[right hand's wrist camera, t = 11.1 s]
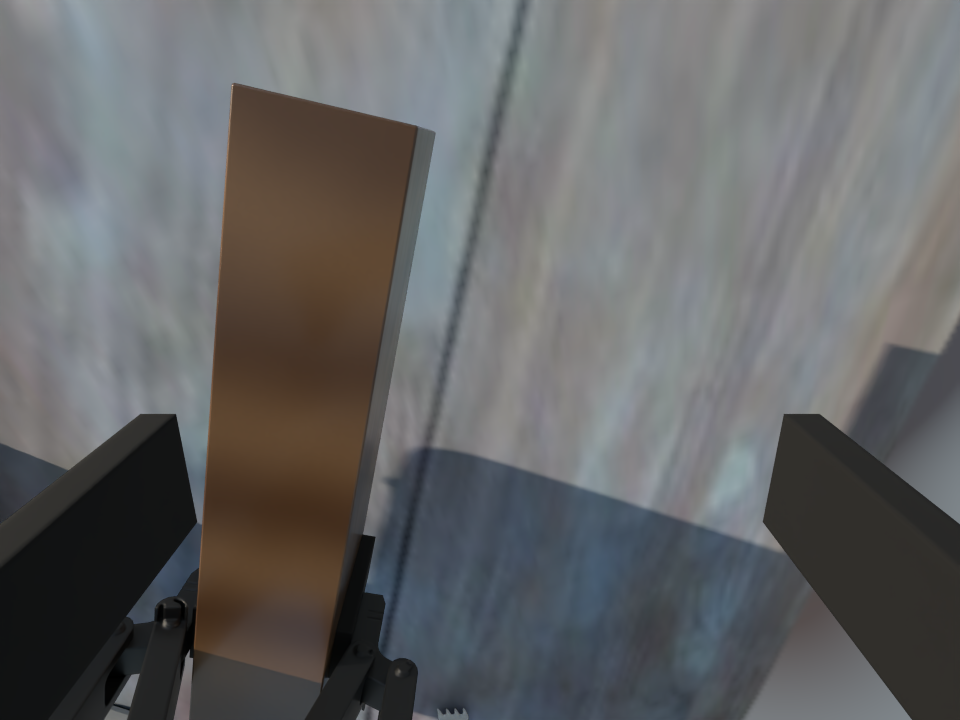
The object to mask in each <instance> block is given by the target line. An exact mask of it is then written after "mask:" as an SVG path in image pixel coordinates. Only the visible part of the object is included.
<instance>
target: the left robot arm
mask: <svg viewBox="0 0 960 720" xmlns="http://www.w3.org/2000/svg"><path fill="white" fill-rule="evenodd" d="M374 542H375V537H374V536H368V535H362V538H361V541H360V545H359V549H358V552H357V556H356V559H355V563H354V567H353V570H352V574H351V578H350V581H349V585H348V588H347V592H346V596H345V599H344V603H343V607H342V610H341V614H340V618H339V621H338V625H337V628H336V633H335V639H334V644H333V650H332V656H331V662H330V667H329V673H328V678H329V680H328V681H327V683H326V685H325V686H324V688H323V690H322V691H321V693H320V695H319V696H318V698H317V700H316V701H315V703H314V705H313V706H312V708H311V710H310V711H309V713H308V715H307V716H306V718H305V719H304V720H356V718H357V716H358V714H359V712H360V710H361V708H362V710H363V711H364V709H365V705H366V704H367V705H369V706H371V707H373V708H375V709H377V710H379V715H378V720H412V715H413V707H414V699H415V691H416V683H417V675H418V670H417V667H416V665H415V663H413V662H412V661H411V660H409V659H406V658H399V659H396V660H394V661H391V660H389V659H387V658H385V657H384V656H383V655H382V654H381V653H380V651H379V648H378V642H379V636H380V631H381V625H382V620H383V614H384V609H385V601H384V598H383V595H378V594H371V593H365V592H364V591H365V587H366V583H367V579H368V574H369V568H370V563H371V558H372V553H373V548H374ZM198 581H199V568H198V569H197V570H195V571H194V572H193V573H192V574H191V575H190V577H189V578H188V580H187V581H186V583H185V584H184V586H183V587H182V590H181V591H180V592H179V594H178V595H177V597H176V596H174V597H168V598H166V599H163V600H162V601H160V602H159V603H158V604H157V605H156V607H155V619H154V621H152V622H148V623H141V624H133V621H132V620H131V619H130V618H128V617H125V618H124V620H123V621H122V622H121V624H120V625H119V626H118V627H117V629H116V630H115V631H114V633H113V634H112V635H111V637H110V638H109V639H108V641H107V642H106V643H105V645H104V646H103V647H102V649H101V650H100V651H99V653H98V654H97V655H96V657H95V658H94V659H93V661H92V662H91V663H90V665H89V666H88V667H87V669H86V670H85V671H84V673H83V674H82V675H81V677H80V678H79V679H78V680H77V682H76V683H75V684H74V686H73V687H72V688H71V690H70V691H69V692H68V694H67V695H66V696H65V698H64V699H63V700H62V702H61V703H60V704H59V706H58V707H57V708H56V710H55V711H54V712H53V714H52V715H51V716H50V718H49V719H48V720H104V719H105V717H106V716H107V714H108V712H109V711H110V709H111V708H112V706H113V704H114V703H115V701H116V699H117V698H118V696H119V694H120V693H121V691H122V689H123V688H124V686H125V684H126V683H127V681H128V679H129V678H130V676H131V675H132V674H139V673H140V675H139V679H138V682H137V686H136V689H135V693H134V697H133V700H132V704H131V707H130V711H129V714H128V718H127V720H173V719H174V715H175V710H176V705H177V700H178V695H179V690H180V686H181V681H182V676H183V671H184V666H185V657H186V655H187V653H188V652H189V650H190V658H193V656H194V641H195V626H196V611H197V596H198Z"/></svg>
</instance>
